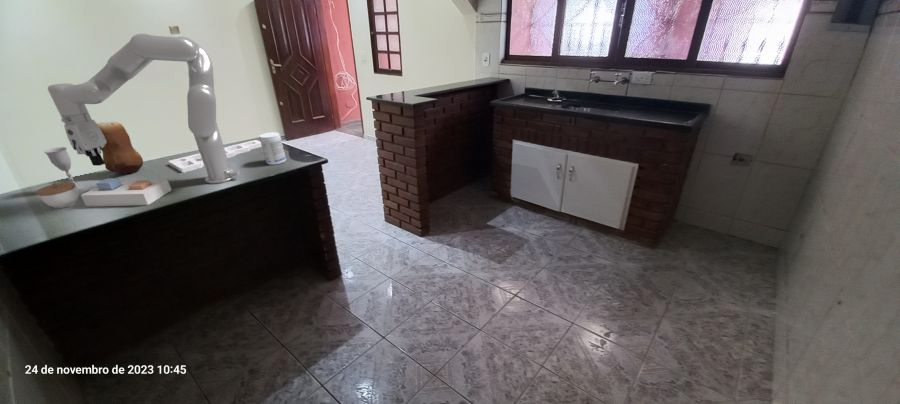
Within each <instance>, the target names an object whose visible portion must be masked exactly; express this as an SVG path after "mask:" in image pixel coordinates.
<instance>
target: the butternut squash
mask: <svg viewBox="0 0 900 404" xmlns="http://www.w3.org/2000/svg"><path fill="white" fill-rule="evenodd" d="M96 123H97V125H98V126H99V128H100V129H101V131H102V133H103V135H104V137H105V139H106V141H107V143H106V144H105V146H104V147H103V148H101V154H102V159H103V161H104V164H103V165H104V167H105V169H106V170H108V171H109V172H111V173H113V174H118V175H124V174H127V175H128V174H134V173H136V172H137V171H139V170H140V169H141V168H142V166H143V164H144V159H143V157H142V155H141V154H140V152H139V151H137V150H136V149H135V148H134V147H133V145H132V141H131V138H130V136H129V135H130V134H129V133H128V132H127V130H126V128H125V126H124V125H123V124H121V123H120V122H118V121H109V122H96Z"/></svg>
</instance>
